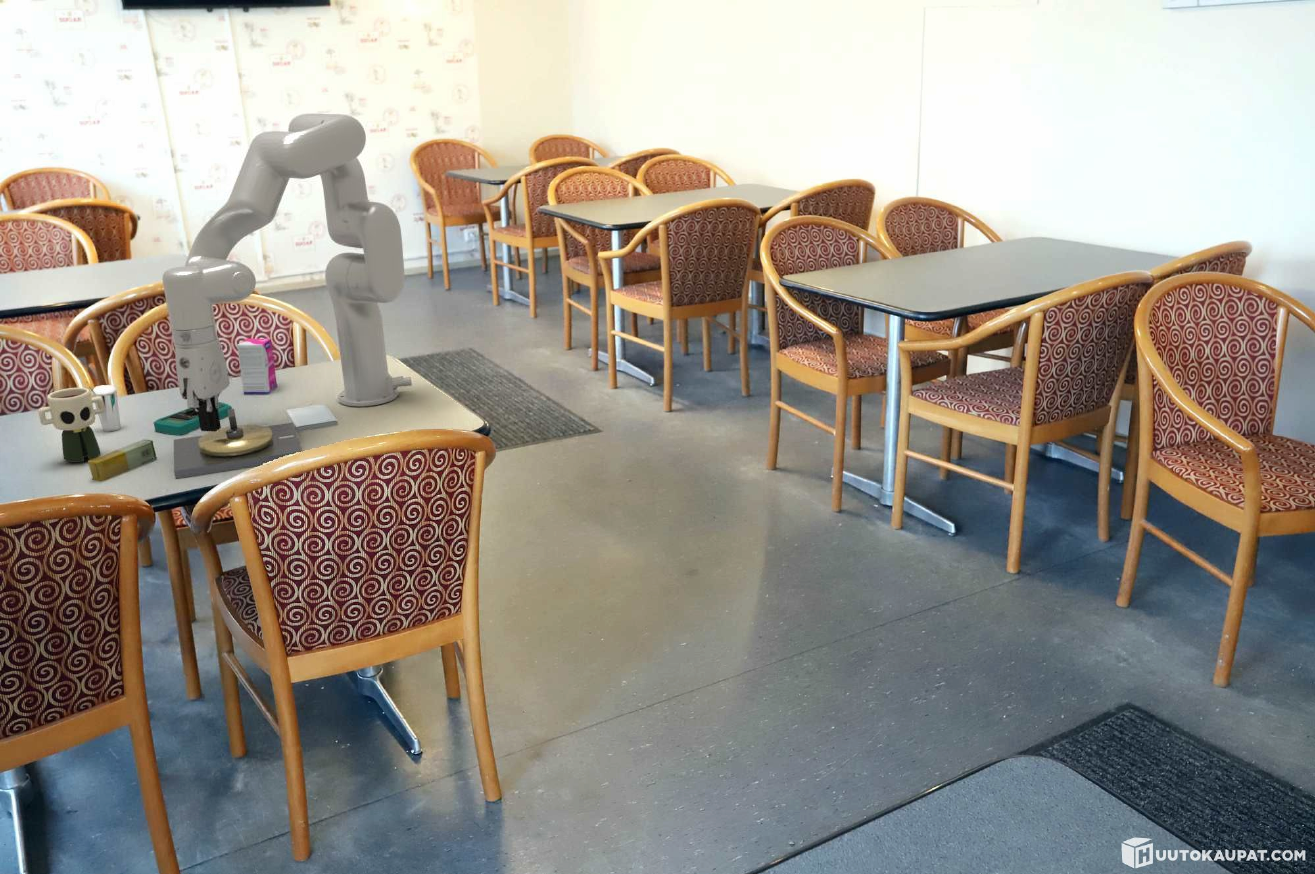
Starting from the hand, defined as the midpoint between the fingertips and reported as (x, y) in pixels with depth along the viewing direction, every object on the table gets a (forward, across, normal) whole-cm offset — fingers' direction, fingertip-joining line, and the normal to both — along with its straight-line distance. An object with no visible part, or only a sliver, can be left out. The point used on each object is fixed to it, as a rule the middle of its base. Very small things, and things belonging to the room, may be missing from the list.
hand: (211, 429), depth 200 cm
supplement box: (+5, +38, +9) cm, 40 cm away
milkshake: (+5, +11, +28) cm, 31 cm away
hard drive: (+5, +20, -11) cm, 23 cm away
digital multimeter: (+5, +16, +13) cm, 22 cm away
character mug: (+5, -5, +24) cm, 25 cm away
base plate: (+5, 0, -5) cm, 7 cm away
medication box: (+5, -9, +12) cm, 16 cm away
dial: (+3, 0, -5) cm, 5 cm away
